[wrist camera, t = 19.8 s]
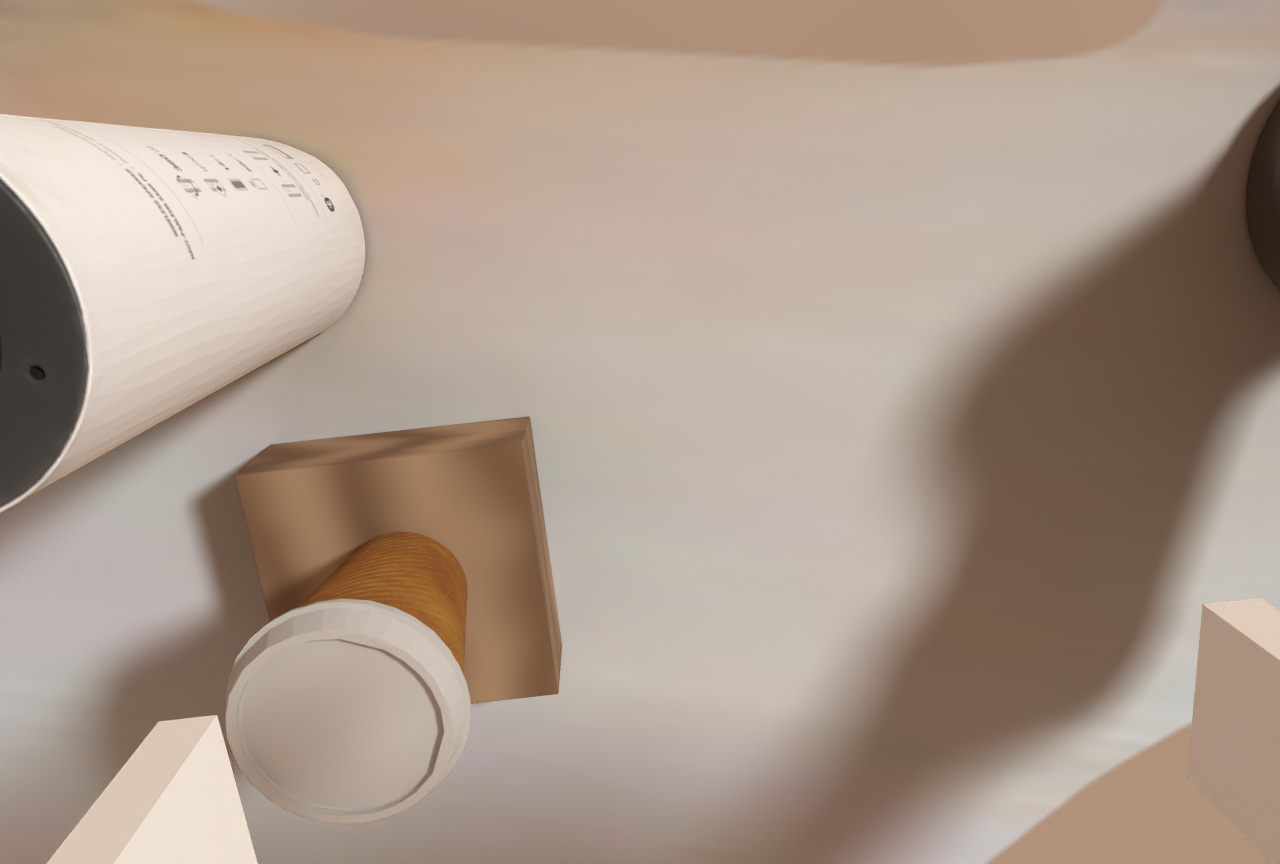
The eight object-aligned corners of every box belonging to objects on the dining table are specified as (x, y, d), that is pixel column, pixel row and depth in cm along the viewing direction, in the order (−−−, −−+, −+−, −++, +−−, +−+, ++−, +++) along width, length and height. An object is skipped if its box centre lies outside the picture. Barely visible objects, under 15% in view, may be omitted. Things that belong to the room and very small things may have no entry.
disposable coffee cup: (294, 509, 44) (187, 629, 33) (488, 493, 44) (449, 608, 33) (327, 678, 47) (239, 845, 36) (509, 663, 47) (480, 823, 36)
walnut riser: (529, 416, 49) (521, 444, 44) (562, 645, 53) (558, 693, 48) (270, 444, 48) (234, 475, 44) (323, 672, 52) (295, 723, 48)
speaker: (111, 202, 45) (-509, 250, 20) (282, 87, 43) (-147, -16, 18) (246, 379, 47) (-147, 620, 22) (410, 276, 46) (188, 409, 21)
